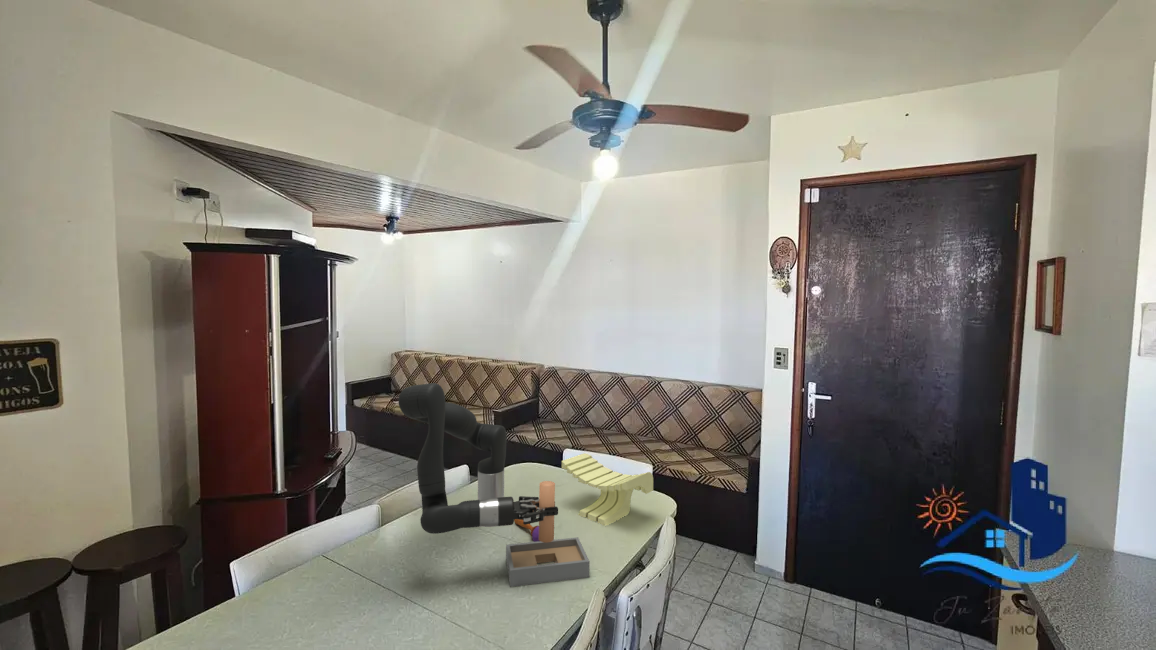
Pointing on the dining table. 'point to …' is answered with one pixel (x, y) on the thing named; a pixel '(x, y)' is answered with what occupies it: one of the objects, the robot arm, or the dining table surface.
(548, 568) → the peg box
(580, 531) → the dining table surface
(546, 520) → the peg
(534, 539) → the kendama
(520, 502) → the robot arm
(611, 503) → the slatted curved stool
